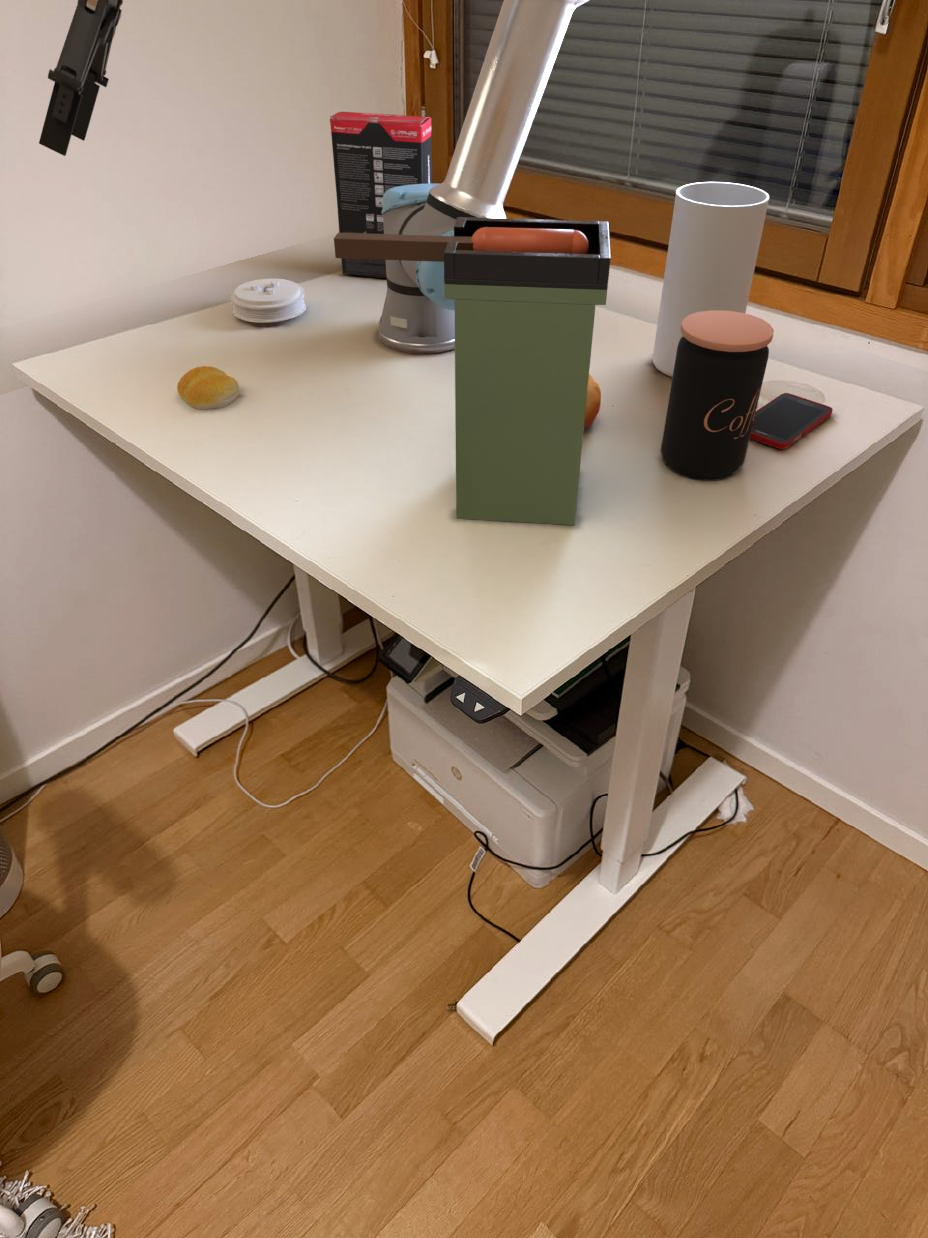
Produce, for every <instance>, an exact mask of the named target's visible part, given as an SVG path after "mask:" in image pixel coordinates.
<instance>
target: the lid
mask: <svg viewBox="0 0 928 1238" xmlns="http://www.w3.org/2000/svg"><path fill="white" fill-rule="evenodd" d="M304 297H305V289H304V288H303V287H302V286H300V285H299V284H298V283H296V282H294V281H292V280H289V279H283V278H260V279H255V280H250V281H246V282H244V283H241V284H240V285H238V286H237V287H236V288H235V289H234V290H233V291H232V292H231V293H230V295H229V298H230V301H231V303H232V305H233V308H232V314H233V315H234V317H236V319H239V320H242V321H245V322H250V323H261V324H265V323H267V324H268V323H276V322H283V321H287V320H290V319H291V320H292V319H294V318H296V317H299V316H300V315H302V314H303V313H304V312H305V311H306V309H307V305H306V304H307V303H306V302H305V298H304Z"/></svg>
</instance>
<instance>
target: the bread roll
mask: <svg viewBox="0 0 928 1238" xmlns="http://www.w3.org/2000/svg"><path fill="white" fill-rule="evenodd" d="M176 391H177V393H178V396H179V397H180V398H181V399H182V401H184V402H186V403H188V404H189V406H190V407H192V408H193V409H197V410H211V409H212V410H213V409H218V408H223V407H225V406H228V405H229V404H231V403H233V402H234V401H235V400H236V399H237V398H238V396H239V394H240V385H239V383H238V380H236V378H234V377H232V376H230V375H228V374H227V373H226V372H224V371H223V370H222V369H220V368H218V367H215V366H212V365H211V366H210V365H209V366H208V365H207V366H206V365H202V366H196V367H193V368H192V369H189V370H188V371H187V372H186V373H184V374H183V375H182V376H181V377H180V378H179V380H178V382H177V385H176Z"/></svg>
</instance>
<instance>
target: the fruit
mask: <svg viewBox="0 0 928 1238" xmlns="http://www.w3.org/2000/svg"><path fill="white" fill-rule="evenodd" d="M601 400H602V392H601V388H600V386H599V384H598V383H597V382H596V380H595V379H594V377H593V376H592V375H591V374H590V373H589V379H588V389H587V400H586V410H585V421H584V429H586V428H589V427H590V426H591V425H593V423H594V422H595V420H596V418H597V417H598V414H599V412H600V408H601V403H602V401H601Z"/></svg>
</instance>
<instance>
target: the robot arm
mask: <svg viewBox="0 0 928 1238" xmlns="http://www.w3.org/2000/svg"><path fill="white" fill-rule="evenodd" d="M589 1H590V0H503V1H502V4H501V8H500V12H499V14H498V17H497V20H496V23H495V26H494V29H493V32H492V36H491V39H490V42H489V44H488V48H487V51H486V54H485V57H484V60H483V63H482V67H481V69H480V73H479V74H478V78H477V80H476V81H477V82H476V85H475V87H474V91H473V93H472V96H471V99H470V102H469V106H468V109H467V112H466V115H465V118H464V121H463V124H462V127H461V130H460V133H459V136H458V140H457V142H456V145H455V148H454V152H453V155H452V158H451V161H450V164H449V166H448V170H447V173H446V176H445V179H444V180H443V182H441V183H432V184H413V185H404V186H398V187H394V188H391V189H389V190H387V191H386V192H385V193H384V195H383V210H382V215H383V225H384V234H398V235H429V236H454V225H455V223H456V220H457V218H458V217H474V218H507V216H506V212H505V210H504V202H505V199H506V196H507V193H508V191H509V189H510V185H511V182H512V180H513V178H514V174H515V172H516V170H517V169H516V168H517V166H518V165H519V164H518V163H519V161H520V158H521V155H522V152H523V149H524V147H525V144H526V142H527V139H528V136H529V133H530V130H531V128H532V125H533V122H534V119H535V116H536V114H537V111H538V108H539V106H540V102H541V100H542V98H543V94H544V92H545V89H546V87H547V83H548V81H549V79H550V76H551V73H552V70H553V67H554V64H555V62H556V59H557V56H558V54H559V51H560V49H561V45H562V42H563V40H564V37H565V35H566V32H567V30H568V26H569V24H570V21H571V18H572V15H573V13H574V11H575V10H576V8H579V7H580V6H582V5H584V4H586V3H587V2H589ZM123 3H124V0H77V4H76V7H75V10H74V14H73V16H72V19H71V22H70V25H69V27H68V31H67V34H66V37H65V40H64V42H63V46H62V49H61V52H60V54H59V58H58V60H57V64H56V67H55V68H54V69H51V68H50V69H49V70H48V74H47V79H48V80H50V81H52V82H54V84H53V87H52V88H53V89H52V91H51V95H50V99H49V103H48V106H47V110H46V114H45V117H44V122H43V126H42V130H41V133H40V138H39V141H38V144H39V145H41V146H43V147H45V148H48V149H49V150H51V151H53V152H56V153H57V154H60V155H62V156H63V157H65V156H66V155H67V153H68V149H69V145H70V142H71V137H72V136H73V137H75V138H77V139H79V140H81V141H82V142H84V141H85V140H86V138H87V133H88V129H89V127H90V123H91V119H92V116H93V112H94V110H95V109H94V108H95V105H96V102H97V98H98V95H99V92H100V88H101V86H102V87H104V88H107V87H108V84H109V82H110V81H109V80H110V78H108V77H106V75H107V66H108V63H109V58H110V54H111V50H112V49H111V48H112V43H113V39H114V37H115V35H116V30H117V27H118V25H119V22H120V20H121V17H122V11H123V10H122V9H121V7H122V5H123ZM386 276H387V278H386V294H385V299H384V302H383V308H382V313H381V316H380V318H379V321H378V339H379V341H380V342H381V343H382V344H383V345H384V346H386V347H388V348H390V349H392V350H395V351H398V352H404V353H409V354H436V353H443V352H447V351H451V350H455V306H454V300H455V299H445V298H444V262H433V261H404V260H386Z"/></svg>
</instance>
